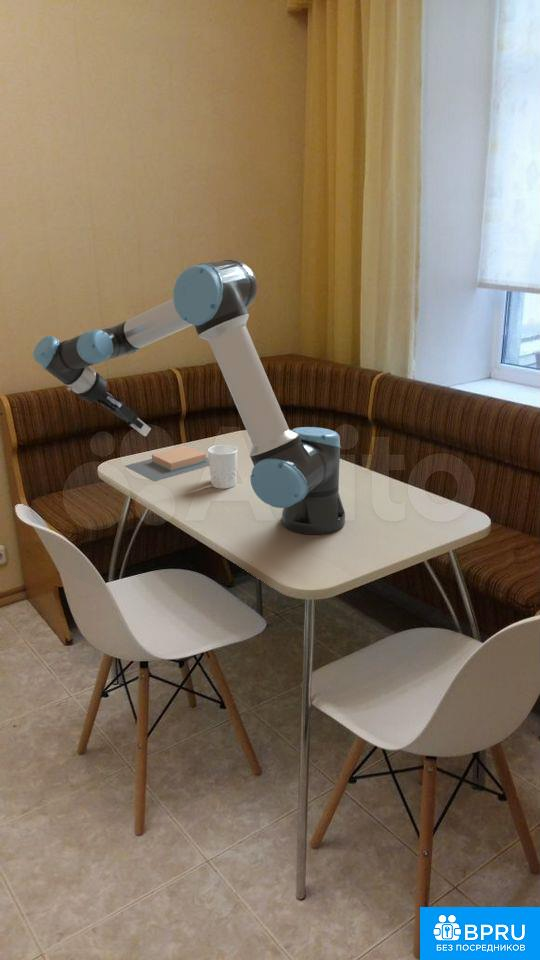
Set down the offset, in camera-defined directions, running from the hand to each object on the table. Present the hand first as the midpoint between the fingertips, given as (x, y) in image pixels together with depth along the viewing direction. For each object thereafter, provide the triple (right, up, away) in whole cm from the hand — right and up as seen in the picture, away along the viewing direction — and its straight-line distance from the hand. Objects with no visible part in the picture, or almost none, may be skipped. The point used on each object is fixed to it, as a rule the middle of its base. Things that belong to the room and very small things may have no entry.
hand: (147, 432), depth 209 cm
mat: (+6, -9, +9) cm, 14 cm away
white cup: (+21, -15, -4) cm, 26 cm away
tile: (+3, -8, +6) cm, 11 cm away
